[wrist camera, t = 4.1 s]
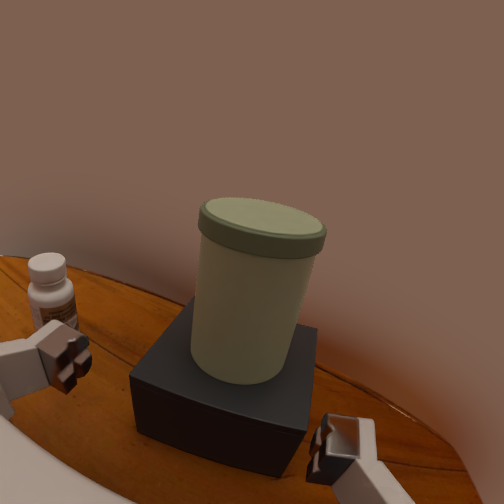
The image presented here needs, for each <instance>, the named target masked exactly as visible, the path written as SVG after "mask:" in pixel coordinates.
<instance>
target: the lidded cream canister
mask: <svg viewBox="0 0 504 504" xmlns="http://www.w3.org/2000/svg"><path fill="white" fill-rule="evenodd" d="M198 227H199V230H200V231H201V233H202V236H201V245H200V253H199V262H198V271H197V280H196V290H195V301H194V311H193V323H192V335H191V354H192V357H193V359H194V361H195V362H196V364H197V365H198V366H199V367H200V368H201V369H202V370H203V371H204V372H206V373H207V374H209V375H210V376H212V377H214V378H216V379H219V380H221V381H224V382H228V383H232V384H240V385H250V384H257V383H262V382H265V381H267V380H269V379H271V378H273V377H274V376H276V375H277V374H278V373H279V372H280V370H281V369H282V367H283V365H284V362H285V359H286V356H287V353H288V350H289V346H290V343H291V340H292V337H293V333H294V330H295V327H296V324H297V320H298V317H299V313H300V310H301V307H302V303H303V300H304V296H305V293H306V289H307V286H308V282H309V278H310V274H311V271H312V267H313V264H314V260H315V256H316V255H317V254H318V253H319V252H320V251H321V250H322V248H323V245H324V241H325V237H326V233H327V229H326V227H325V225H324V224H323V223H322V222H320V221H319V220H317V219H316V218H314V217H313V216H311V215H309V214H307V213H305V212H303V211H300V210H298V209H294V208H291V207H289V206H285V205H282V204H278V203H273V202H268V201H263V200H257V199H249V198H219V199H214V200H209V201H206V202H204V203H203V204H202V205H201V207H200V212H199V220H198Z"/></svg>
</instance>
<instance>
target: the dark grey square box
mask: <svg viewBox="0 0 504 504" xmlns="http://www.w3.org/2000/svg"><path fill="white" fill-rule="evenodd" d="M194 301H195V296H194V297H193V298H192V299H191V300H190V302H189V303H188V304H187V305H186V306H185V308H184V309H183V310H182V311H181V312H180V313H179V315H178V316H177V317H176V318H175V319H174V321H173V322H172V323H171V324H170V325H169V327H168V328H167V329H166V330H165V331H164V333H163V334H162V335H161V336H160V337H159V339H158V340H157V341H156V342H155V343H154V345H153V346H152V347H151V348H150V349H149V351H148V352H147V353H146V354H145V355H144V357H143V358H142V359H141V360H140V362H139V363H138V364H137V365H136V366H135V368H134V369H133V370H132V371H131V372H130V374H129V380H130V389H131V396H132V403H133V409H134V415H135V421H136V427H137V431H138V432H140V433H142V434H144V435H146V436H149V437H151V438H153V439H156V440H158V441H161V442H163V443H165V444H168V445H170V446H173V447H176V448H178V449H181V450H184V451H186V452H189V453H192V454H195V455H198V456H201V457H204V458H207V459H210V460H213V461H216V462H219V463H222V464H226V465H229V466H233V467H236V468H240V469H244V470H248V471H252V472H256V473H260V474H264V475H269V476H273V477H278V478H280V477H281V475H282V474H283V472H284V471H285V469H286V467H287V466H288V464H289V462H290V461H291V459H292V457H293V456H294V454H295V452H296V450H297V449H298V447H299V445H300V443H301V442H302V440H303V438H304V436H305V434H306V432H307V430H308V422H309V414H310V406H311V397H312V388H313V378H314V367H315V356H316V344H317V331H318V330H317V328H313V327H309V326H304V325H300V324H296V327H295V330H294V333H293V337H292V340H291V343H290V346H289V350H288V353H287V356H286V359H285V362H284V365H283V367H282V369H281V370H280V372H279V373H278V374H277V375H276V376H274V377H273V378H271V379H269V380H267V381H265V382H262V383H257V384H250V385H240V384H232V383H228V382H224V381H221V380H219V379H216V378H214V377H212V376H210V375H209V374H207V373H206V372H204V371H203V370H202V369H201V368H200V367H199V366H198V365H197V364H196V362H195V361H194V359H193V357H192V354H191V335H192V323H193V311H194Z"/></svg>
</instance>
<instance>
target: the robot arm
mask: <svg viewBox="0 0 504 504" xmlns="http://www.w3.org/2000/svg"><path fill="white" fill-rule="evenodd" d="M88 345H89V340H88V336H86V335H84V334H83V333H81V332H79V331H77V330H75V329H73V328H71V327H69V326H68V325H66V324H64V323H62V322H60V321H58V320H51V321H50V322H49V323H47V324H46V325H45V326H43V327H42V328H41V329H39V330H38V331H37V332H35V333H34V334H33V335H32V336H30V337H29V338H28V339H26V340H25V339H18V340H13V341H8V342H2V343H0V504H137V503H135V502H133V501H130V500H128V499H126V498H124V497H122V496H120V495H118V494H116V493H114V492H112V491H110V490H108V489H107V488H105V487H103V486H101V485H99V484H97V483H96V482H94V481H92V480H90V479H89V478H87V477H85V476H84V475H82V474H80V473H79V472H77V471H75V470H74V469H72V468H71V467H69V466H68V465H66V464H64V463H63V462H61V461H60V460H59V459H57V458H56V457H54V456H53V455H51V454H50V453H48V452H47V451H46V450H44V449H43V448H42V447H40V446H39V445H38V444H36V443H35V442H34V441H32V440H31V439H30V438H28V437H27V436H26V435H25V434H23V433H22V432H21V431H20V430H19V429H17V428H16V427H15V426H14V425H13V424H11V423H10V422H9V421H8V420H9V419H10V418H11V417H12V416H13V415H14V414H15V410H14V408H13V406H12V405H11V403H10V401H12V400H14V399H17V398H20V397H22V396H25V395H28V394H30V393H33V392H36V391H38V390H41V389H44V388H46V387H49V386H50V385H51V386H52V387H54V388H56V389H57V390H59V391H61V392H62V393H64V394H66V395H67V394H68V393H69V392H70V391H71V390H72V389H73V388H74V387H75V386H76V385H77V378H81V377H84V376H85V375H86V374H87V373H88V372H89V369H90V367H91V365H92V356H91V353H90V351H89V350H88V348H87V347H88ZM309 455H310V456H311V458H312V459H311V461H310V462H309V464H308V466H307V474H306V482H309V483H315V484H321V485H328V486H331V488H332V490H333V492H334V494H335V496H336V498H337V500H338V502H339V504H415V503H414V501H413V500H412V499H411V498H410V496H409V495H408V494H407V493H406V491H405V490H404V489H403V488H402V486H401V485H400V484H399V483H398V481H397V480H396V479H395V478H394V476H393V475H392V474H391V473H390V471H389V470H388V469H387V467H386V466H385V465H384V464H383V462H382V461H377V451H376V438H375V427H374V421H373V419H366V418H359V417H352V416H345V415H339V414H332V413H326V414H325V415H324V416H323V418H322V422H321V426H320V427H318V428H317V429H316V431H315V433H314V435H313V438H312V441H311V445H310V451H309Z"/></svg>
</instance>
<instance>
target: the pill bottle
mask: <svg viewBox="0 0 504 504" xmlns="http://www.w3.org/2000/svg"><path fill="white" fill-rule="evenodd" d="M28 270H29V277H30V280H31V283H30V285H29V287H28V298H29V303H30V307H31V312H32V316H33V321H34V325H35V329H36V332H37V331H38V330H39V329H41V328H42V327H43V326H45V325H46V324H47V323H49V322H50V321H51V320H58V321H60V322H62V323H64V324H66V325H68V326H69V327H71V328H73V329H75V330H77V331H79V325H78V318H77V310H76V303H75V295H74V288H73V284H72V282H71V281H70V280H69V279H68V278H66V277H67V270H66V262H65V258H64V257H63V256H62V255H61V254H57V253H42V254H39V255H36V256H34V257H32V258H31V259H30V260H29V262H28Z"/></svg>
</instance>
